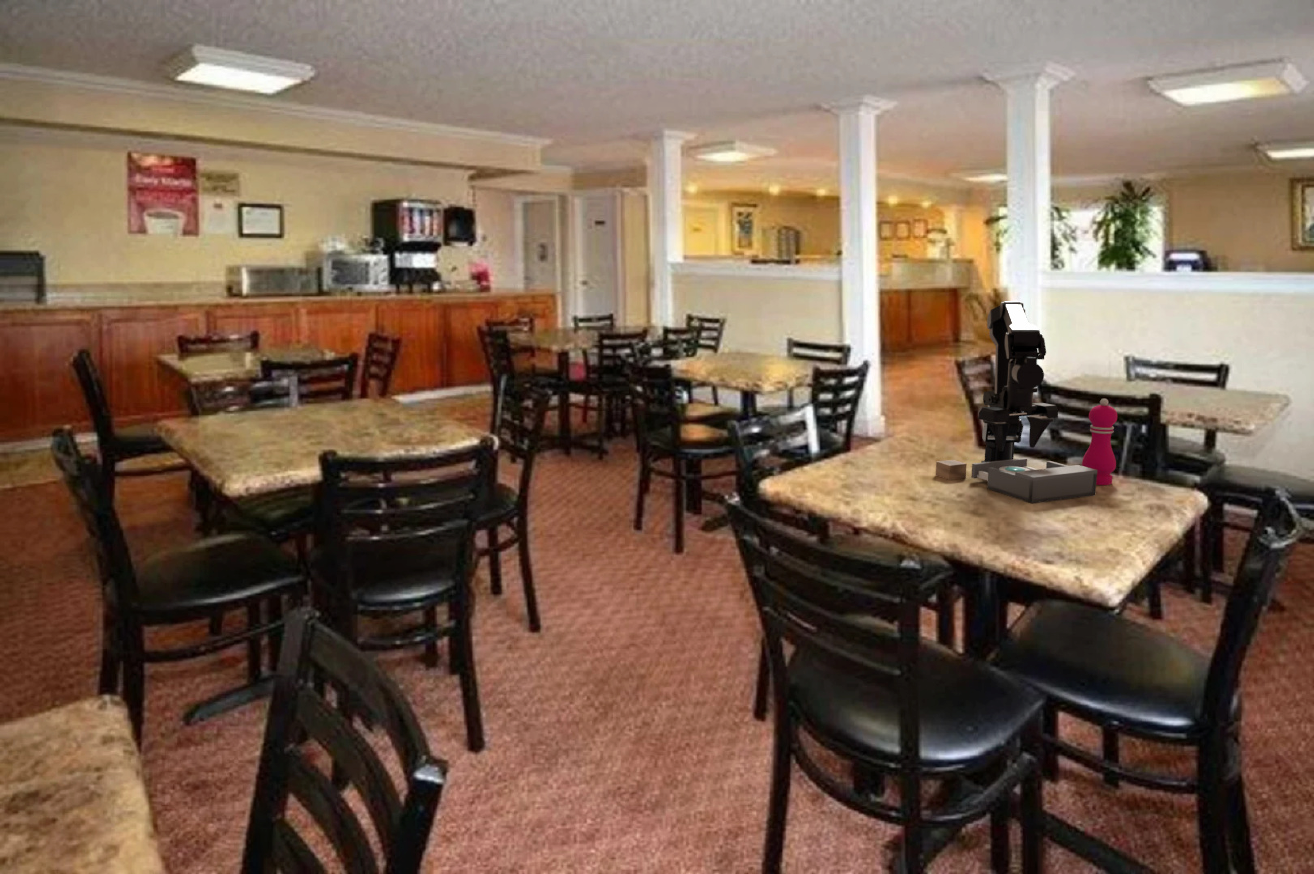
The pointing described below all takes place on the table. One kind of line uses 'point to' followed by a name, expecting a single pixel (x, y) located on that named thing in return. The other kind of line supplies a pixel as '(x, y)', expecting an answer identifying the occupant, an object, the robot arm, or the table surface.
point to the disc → (1013, 469)
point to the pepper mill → (1101, 442)
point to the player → (1045, 482)
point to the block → (951, 469)
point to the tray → (982, 468)
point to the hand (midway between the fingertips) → (1016, 449)
